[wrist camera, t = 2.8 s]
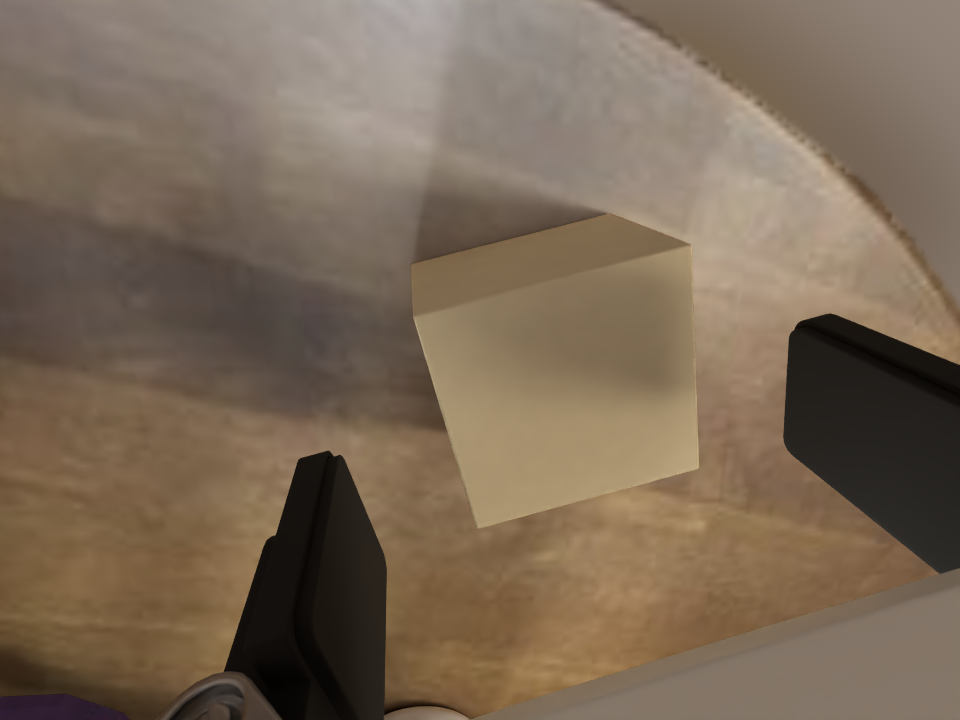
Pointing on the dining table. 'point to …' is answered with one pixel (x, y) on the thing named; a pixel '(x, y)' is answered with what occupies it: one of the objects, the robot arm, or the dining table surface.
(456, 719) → the supplement bottle
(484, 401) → the beige cube block
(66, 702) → the purple faceted ringed piece
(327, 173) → the dining table surface
